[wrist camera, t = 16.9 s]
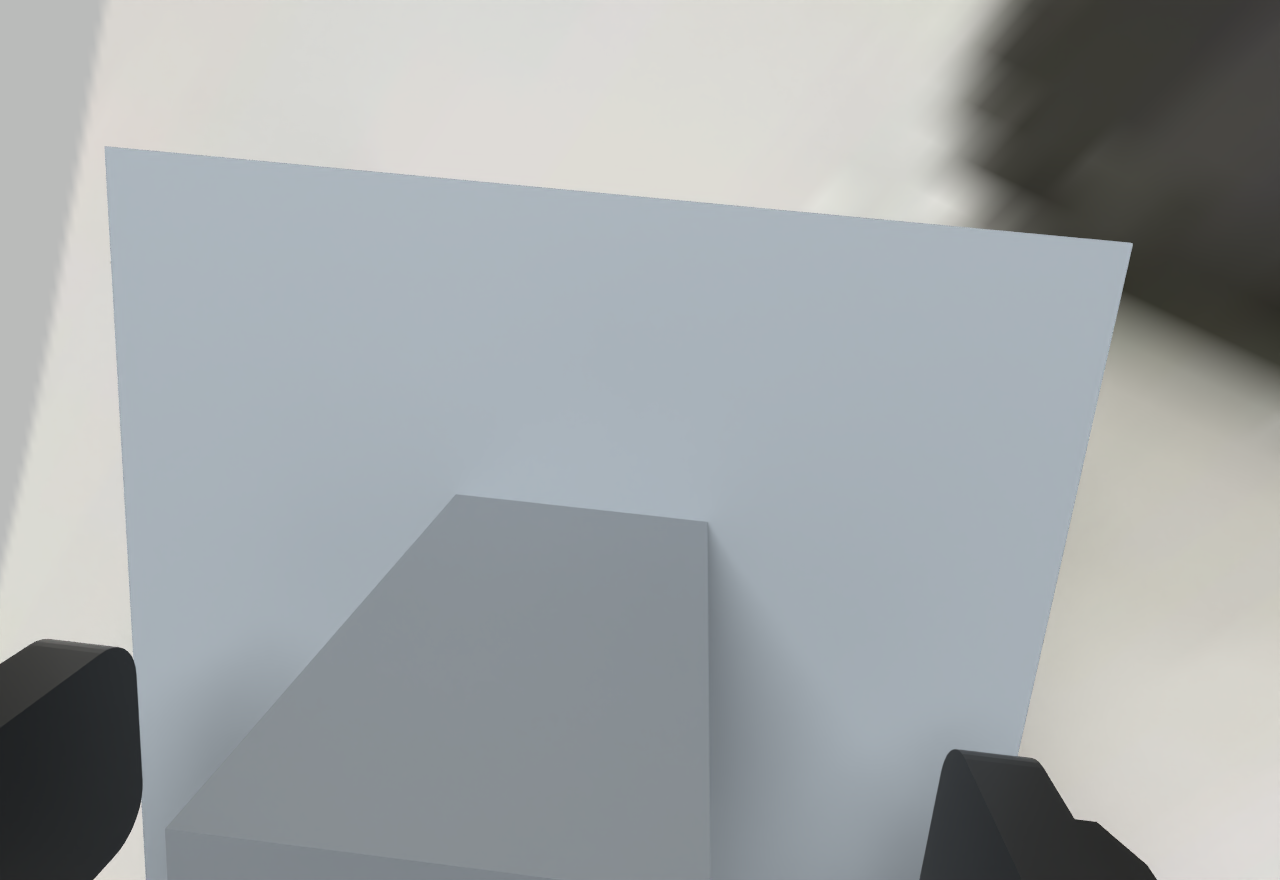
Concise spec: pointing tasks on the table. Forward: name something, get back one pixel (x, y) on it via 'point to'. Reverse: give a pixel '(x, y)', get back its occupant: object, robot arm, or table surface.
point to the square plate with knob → (578, 520)
